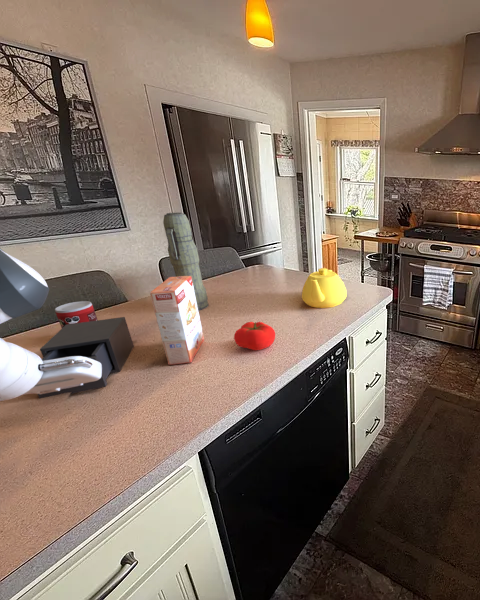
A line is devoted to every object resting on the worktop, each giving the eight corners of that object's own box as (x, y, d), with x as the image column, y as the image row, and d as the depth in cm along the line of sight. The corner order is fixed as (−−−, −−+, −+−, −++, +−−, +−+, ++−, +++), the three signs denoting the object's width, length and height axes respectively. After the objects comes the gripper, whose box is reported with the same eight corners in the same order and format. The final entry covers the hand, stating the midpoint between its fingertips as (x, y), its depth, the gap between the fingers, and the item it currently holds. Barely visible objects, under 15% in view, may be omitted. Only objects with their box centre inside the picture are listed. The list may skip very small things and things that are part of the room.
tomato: (259, 356, 91) (256, 336, 89) (229, 349, 95) (225, 329, 93) (282, 341, 100) (280, 322, 98) (254, 335, 103) (251, 316, 101)
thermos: (213, 300, 131) (195, 211, 118) (202, 312, 120) (181, 215, 107) (189, 302, 129) (168, 211, 117) (176, 313, 118) (151, 215, 106)
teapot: (338, 315, 119) (336, 280, 114) (291, 313, 120) (287, 278, 115) (352, 292, 142) (350, 262, 137) (312, 291, 143) (309, 261, 138)
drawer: (99, 397, 73) (88, 367, 70) (30, 412, 68) (14, 380, 65) (121, 359, 87) (113, 333, 85) (65, 369, 83) (54, 342, 80)
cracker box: (193, 363, 88) (175, 290, 80) (167, 366, 86) (147, 292, 79) (206, 339, 100) (192, 274, 93) (184, 342, 99) (167, 276, 91)
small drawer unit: (120, 371, 84) (108, 338, 80) (54, 384, 78) (39, 349, 75) (134, 346, 96) (124, 316, 92) (78, 355, 91) (66, 324, 87)
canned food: (62, 342, 97) (48, 308, 94) (93, 331, 104) (82, 299, 100) (76, 347, 95) (63, 312, 91) (108, 335, 102) (97, 303, 98)
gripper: (84, 342, 60) (115, 362, 72) (-84, 368, 51) (-18, 385, 63) (82, 375, 58) (115, 390, 70) (-93, 408, 49) (-22, 418, 61)
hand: (51, 388), depth 66 cm, fingers closed
